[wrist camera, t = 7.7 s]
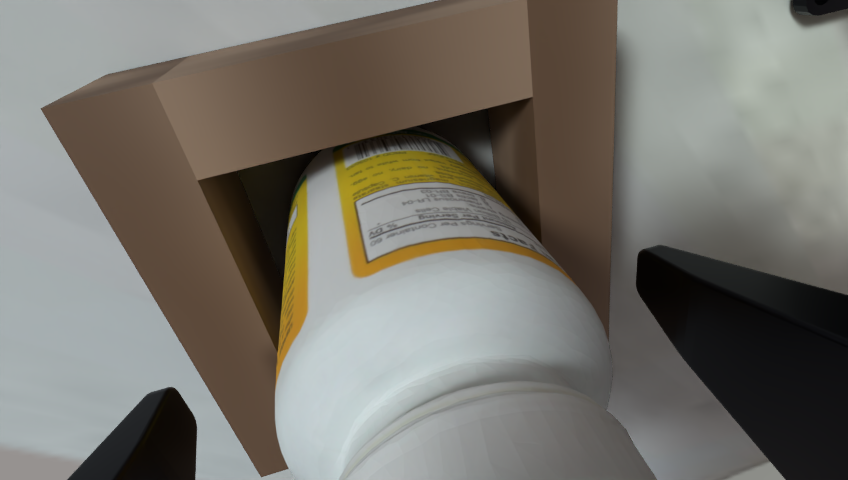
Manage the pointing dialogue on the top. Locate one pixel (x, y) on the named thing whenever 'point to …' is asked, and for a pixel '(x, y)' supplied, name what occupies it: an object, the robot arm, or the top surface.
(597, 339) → the supplement bottle
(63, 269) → the top surface
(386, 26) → the socket block
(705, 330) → the robot arm
